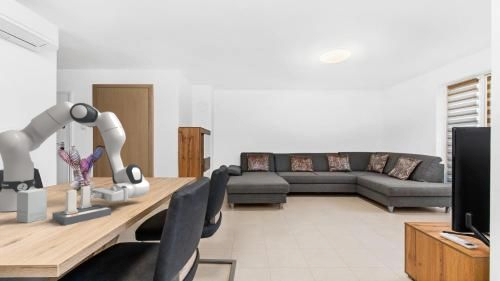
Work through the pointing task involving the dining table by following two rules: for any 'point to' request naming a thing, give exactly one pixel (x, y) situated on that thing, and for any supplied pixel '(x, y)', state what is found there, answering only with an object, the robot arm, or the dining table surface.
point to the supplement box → (31, 205)
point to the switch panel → (81, 214)
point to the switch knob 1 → (71, 202)
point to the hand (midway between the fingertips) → (89, 196)
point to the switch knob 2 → (85, 197)
